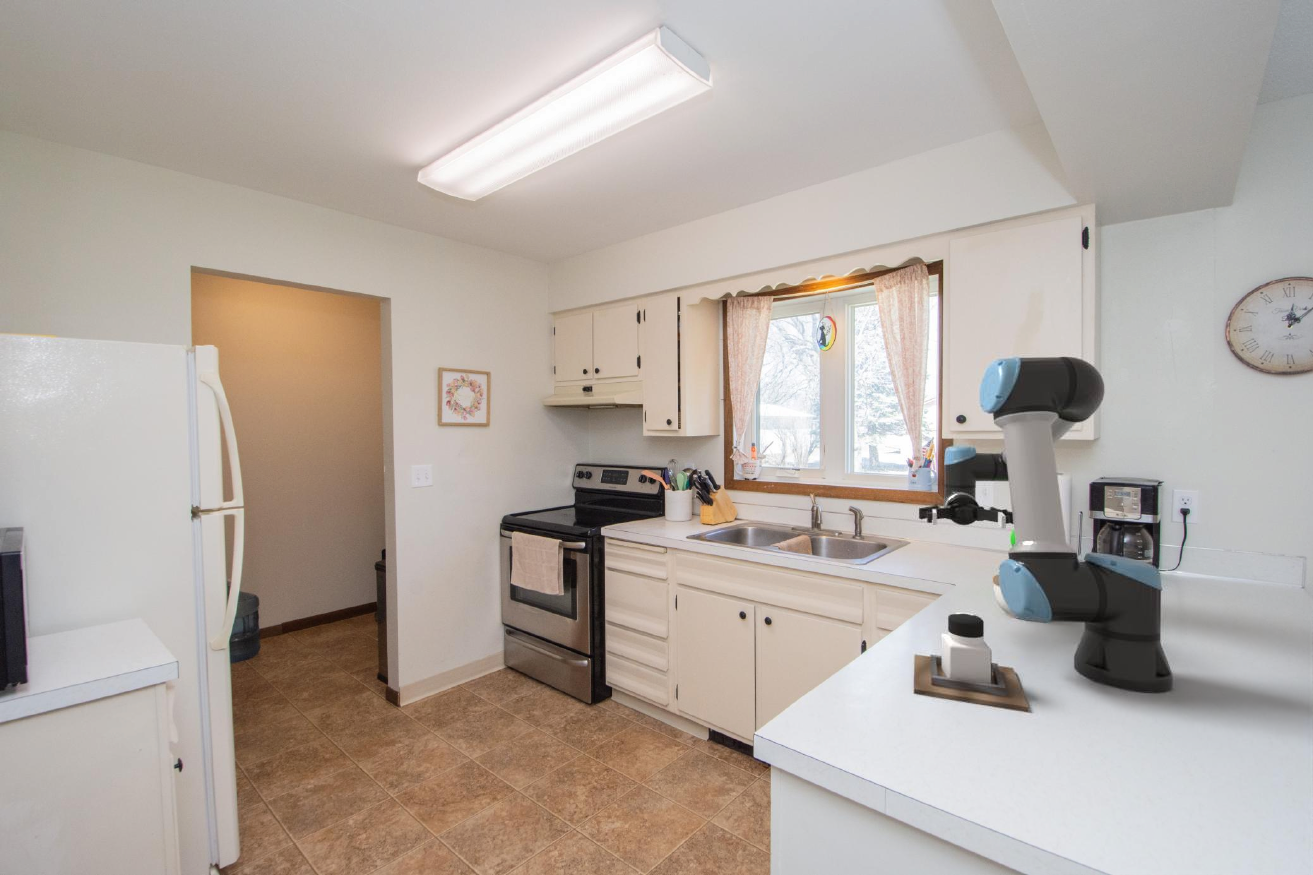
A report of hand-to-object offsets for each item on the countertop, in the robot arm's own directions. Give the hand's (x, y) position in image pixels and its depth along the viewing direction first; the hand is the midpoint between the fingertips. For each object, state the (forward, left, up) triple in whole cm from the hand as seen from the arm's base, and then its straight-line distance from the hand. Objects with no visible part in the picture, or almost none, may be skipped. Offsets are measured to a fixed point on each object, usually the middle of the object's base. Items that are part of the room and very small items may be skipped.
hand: (968, 520), depth 131 cm
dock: (+2, +22, -28) cm, 35 cm away
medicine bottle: (+2, +22, -27) cm, 35 cm away
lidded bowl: (-14, -29, -28) cm, 43 cm away
